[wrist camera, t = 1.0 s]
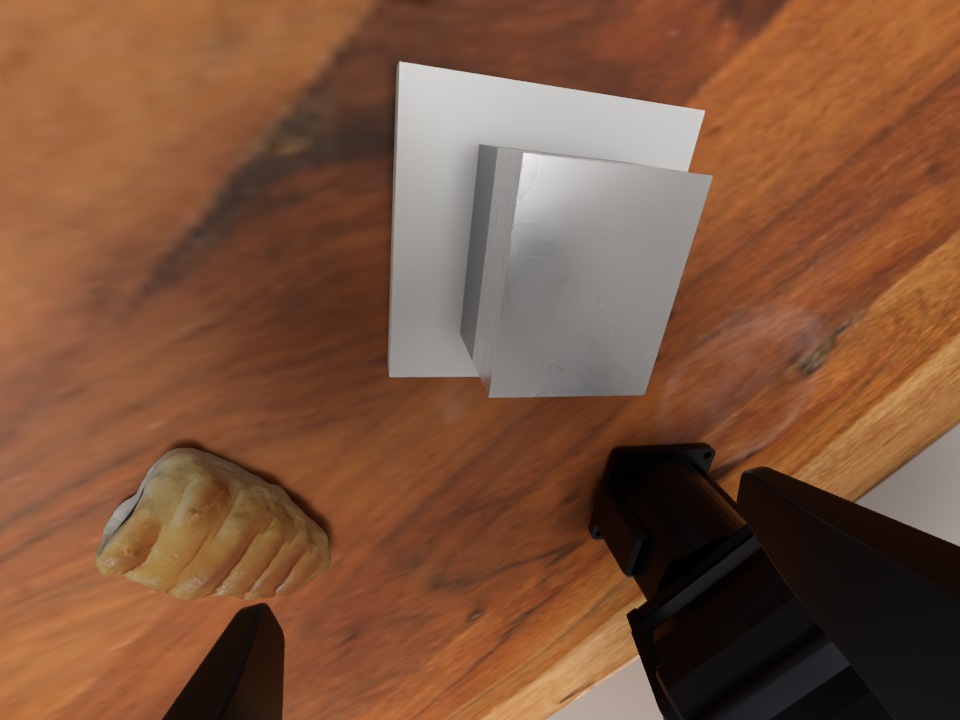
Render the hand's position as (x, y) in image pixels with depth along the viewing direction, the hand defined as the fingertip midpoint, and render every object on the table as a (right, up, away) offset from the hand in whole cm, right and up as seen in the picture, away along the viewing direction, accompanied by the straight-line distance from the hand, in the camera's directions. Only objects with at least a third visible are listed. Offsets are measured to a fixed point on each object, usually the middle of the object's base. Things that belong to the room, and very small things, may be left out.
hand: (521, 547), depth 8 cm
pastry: (-13, -4, +14) cm, 19 cm away
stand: (+1, +8, +11) cm, 14 cm away
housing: (+2, +8, +9) cm, 12 cm away
